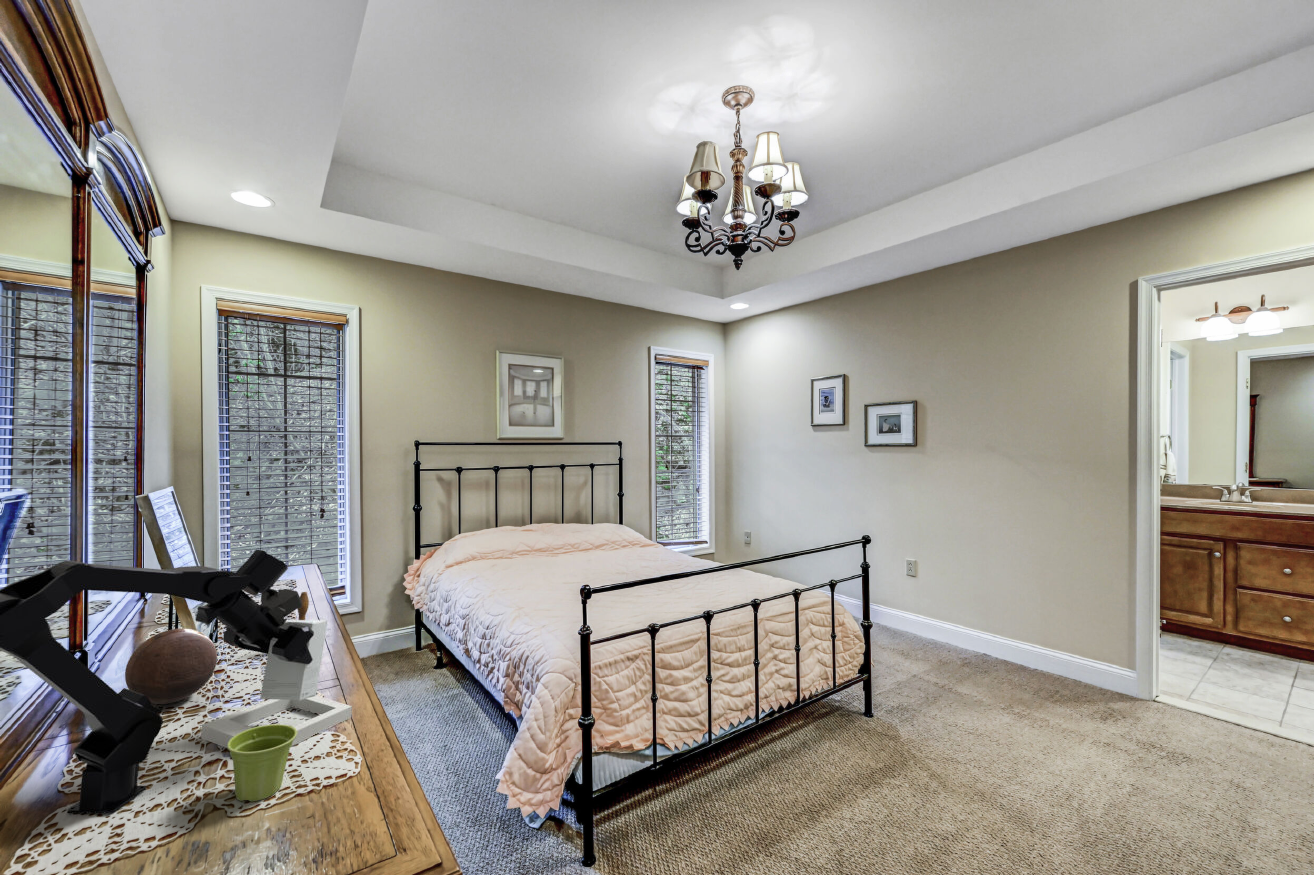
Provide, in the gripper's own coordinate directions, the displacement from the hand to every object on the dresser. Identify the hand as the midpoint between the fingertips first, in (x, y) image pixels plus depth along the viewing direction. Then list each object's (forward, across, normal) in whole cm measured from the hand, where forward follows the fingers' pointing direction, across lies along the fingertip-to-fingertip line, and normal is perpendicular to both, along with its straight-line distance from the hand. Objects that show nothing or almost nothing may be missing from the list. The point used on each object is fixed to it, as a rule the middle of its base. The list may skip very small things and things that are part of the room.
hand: (294, 657), depth 116 cm
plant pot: (-2, -17, +22) cm, 28 cm away
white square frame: (+9, 0, +10) cm, 13 cm away
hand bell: (+29, +35, -10) cm, 47 cm away
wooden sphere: (+6, +30, +13) cm, 34 cm away
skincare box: (+4, 0, +6) cm, 8 cm away
